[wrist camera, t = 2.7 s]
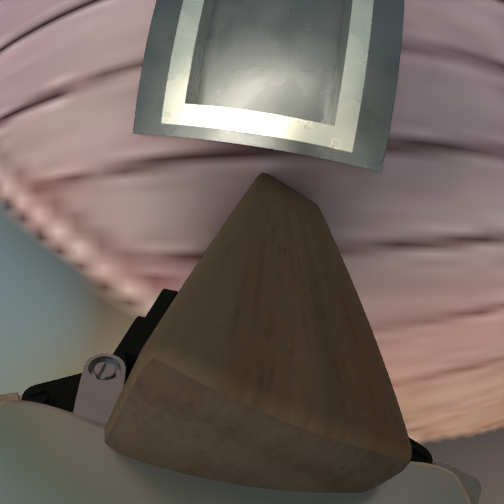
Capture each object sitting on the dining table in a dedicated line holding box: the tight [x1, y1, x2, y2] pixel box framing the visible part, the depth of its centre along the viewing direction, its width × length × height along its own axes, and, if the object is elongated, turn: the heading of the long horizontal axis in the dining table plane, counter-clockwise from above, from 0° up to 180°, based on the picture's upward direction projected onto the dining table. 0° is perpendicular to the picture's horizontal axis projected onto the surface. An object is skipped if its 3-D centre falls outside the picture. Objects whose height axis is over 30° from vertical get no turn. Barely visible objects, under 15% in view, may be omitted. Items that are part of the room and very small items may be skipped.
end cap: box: [133, 0, 404, 172], centre depth 14 cm, size 16×17×4 cm
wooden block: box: [105, 173, 412, 493], centre depth 13 cm, size 9×4×18 cm, turn 149°
